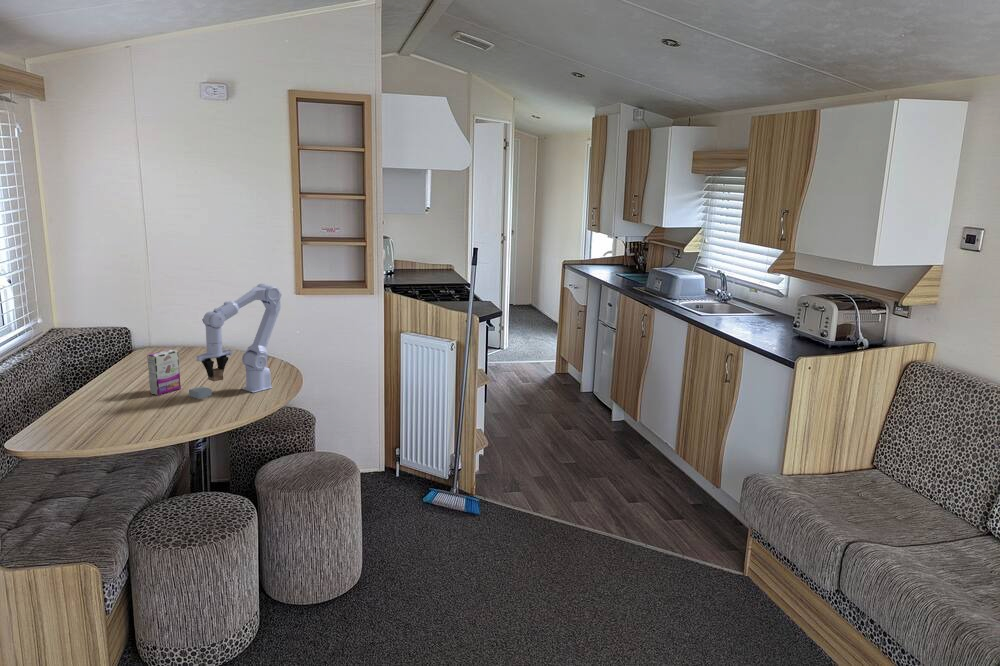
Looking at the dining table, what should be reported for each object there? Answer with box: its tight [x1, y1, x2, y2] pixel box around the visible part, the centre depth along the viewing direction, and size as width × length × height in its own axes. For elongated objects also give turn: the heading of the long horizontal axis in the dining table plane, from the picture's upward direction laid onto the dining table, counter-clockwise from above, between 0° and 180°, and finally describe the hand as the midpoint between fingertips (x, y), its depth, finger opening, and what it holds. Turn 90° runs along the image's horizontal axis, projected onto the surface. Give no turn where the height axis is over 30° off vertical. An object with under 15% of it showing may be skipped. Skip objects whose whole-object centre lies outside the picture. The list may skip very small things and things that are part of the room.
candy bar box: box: [146, 348, 182, 396], centre depth 285 cm, size 11×5×16 cm, turn 155°
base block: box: [188, 386, 213, 400], centre depth 283 cm, size 6×6×3 cm
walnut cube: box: [207, 367, 224, 382], centre depth 281 cm, size 4×4×4 cm
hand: (215, 375), depth 281 cm, fingers closed on walnut cube, 4 cm apart
